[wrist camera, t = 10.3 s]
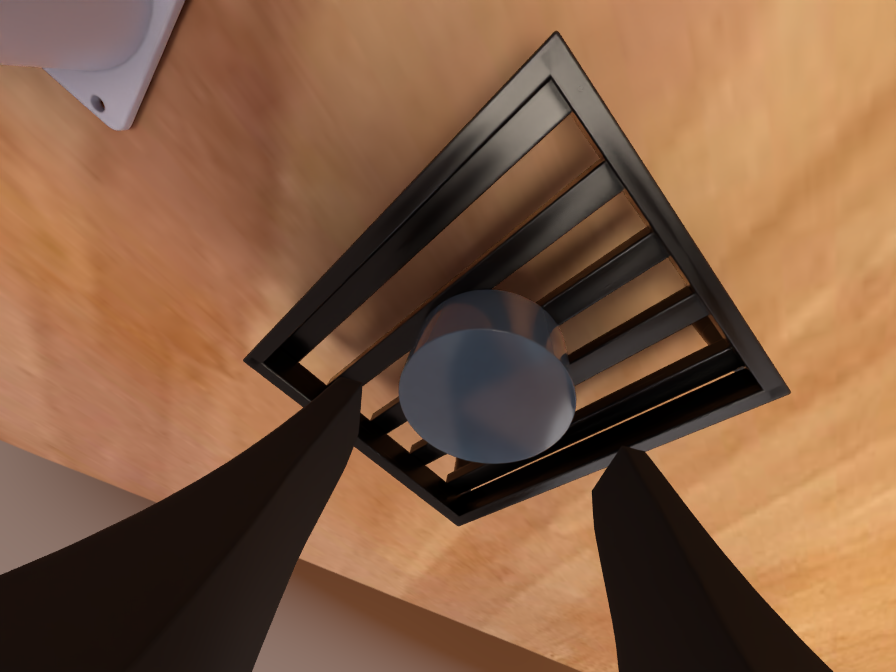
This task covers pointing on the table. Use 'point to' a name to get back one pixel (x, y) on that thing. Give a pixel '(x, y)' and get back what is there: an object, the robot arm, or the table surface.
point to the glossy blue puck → (489, 378)
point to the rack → (449, 194)
